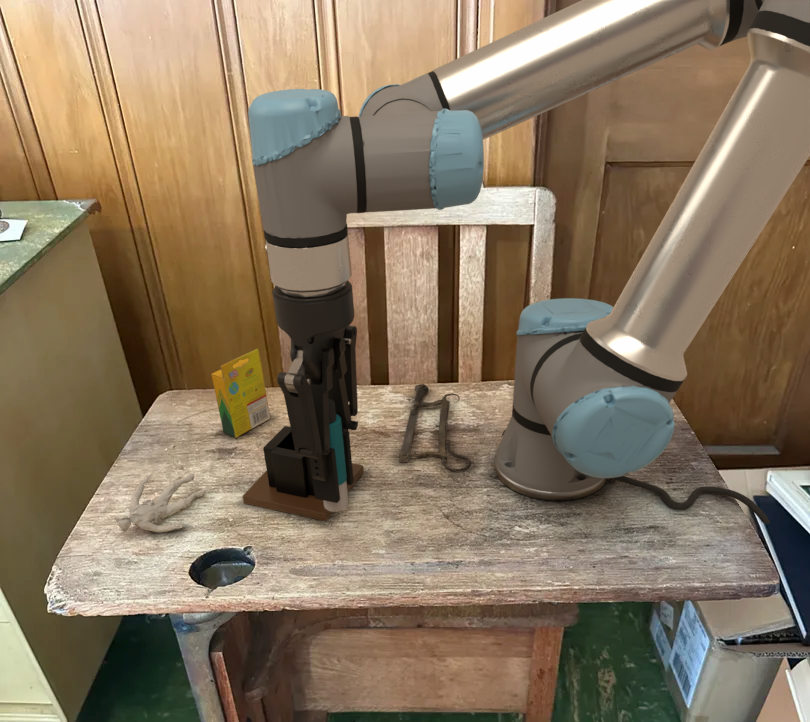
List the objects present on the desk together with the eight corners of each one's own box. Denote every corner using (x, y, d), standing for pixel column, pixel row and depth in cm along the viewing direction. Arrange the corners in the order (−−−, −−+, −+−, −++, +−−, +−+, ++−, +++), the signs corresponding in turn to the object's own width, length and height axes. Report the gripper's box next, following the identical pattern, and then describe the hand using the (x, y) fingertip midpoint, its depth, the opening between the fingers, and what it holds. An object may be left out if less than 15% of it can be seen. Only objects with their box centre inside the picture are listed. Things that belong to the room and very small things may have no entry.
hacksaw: (415, 389, 124) (415, 381, 123) (478, 391, 122) (479, 383, 121) (395, 469, 105) (395, 460, 104) (470, 473, 104) (470, 464, 103)
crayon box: (258, 413, 118) (247, 343, 111) (271, 419, 117) (261, 347, 110) (221, 432, 114) (207, 360, 107) (235, 439, 112) (221, 366, 105)
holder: (364, 472, 104) (360, 426, 100) (326, 521, 96) (321, 473, 91) (286, 457, 108) (280, 412, 104) (243, 503, 99) (234, 456, 95)
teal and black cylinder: (353, 499, 87) (344, 398, 79) (342, 514, 85) (331, 411, 77) (330, 495, 88) (318, 394, 80) (318, 509, 86) (305, 407, 78)
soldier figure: (219, 510, 100) (156, 536, 89) (197, 527, 102) (133, 555, 92) (186, 460, 100) (119, 481, 89) (165, 479, 102) (97, 501, 92)
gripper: (313, 252, 78) (334, 449, 92) (231, 310, 66) (270, 524, 81) (381, 258, 76) (392, 459, 90) (308, 319, 64) (334, 538, 78)
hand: (334, 489), depth 85 cm, fingers closed on teal and black cylinder, 3 cm apart
